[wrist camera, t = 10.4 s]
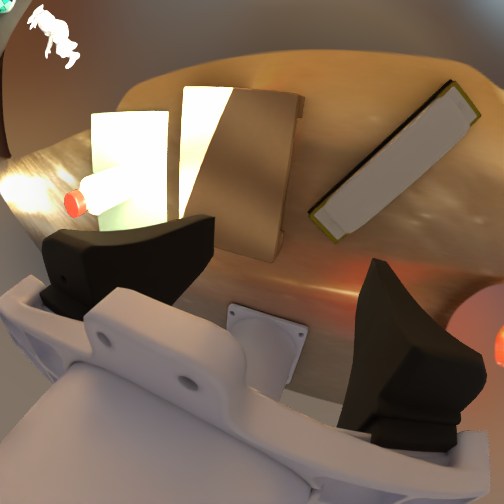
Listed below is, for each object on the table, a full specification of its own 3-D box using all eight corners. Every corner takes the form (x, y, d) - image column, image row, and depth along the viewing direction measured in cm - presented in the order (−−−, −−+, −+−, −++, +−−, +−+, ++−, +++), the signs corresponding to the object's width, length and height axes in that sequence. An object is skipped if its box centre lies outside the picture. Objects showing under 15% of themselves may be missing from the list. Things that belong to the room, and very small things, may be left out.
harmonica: (447, 79, 13) (456, 76, 11) (475, 115, 13) (486, 115, 11) (308, 209, 21) (303, 218, 19) (336, 238, 21) (334, 249, 19)
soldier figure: (72, 81, 23) (21, 48, 19) (100, 53, 24) (47, 23, 19) (59, 48, 16) (5, 18, 12) (95, 16, 17) (36, -10, 12)
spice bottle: (138, 202, 26) (86, 230, 20) (113, 196, 26) (63, 221, 21) (136, 166, 24) (80, 187, 18) (111, 162, 25) (57, 182, 19)
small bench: (281, 249, 23) (272, 264, 21) (194, 226, 25) (179, 237, 23) (305, 96, 17) (297, 94, 15) (201, 88, 19) (183, 86, 17)
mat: (168, 255, 28) (166, 257, 27) (102, 233, 30) (100, 234, 30) (168, 111, 21) (165, 111, 20) (93, 113, 23) (91, 114, 23)
